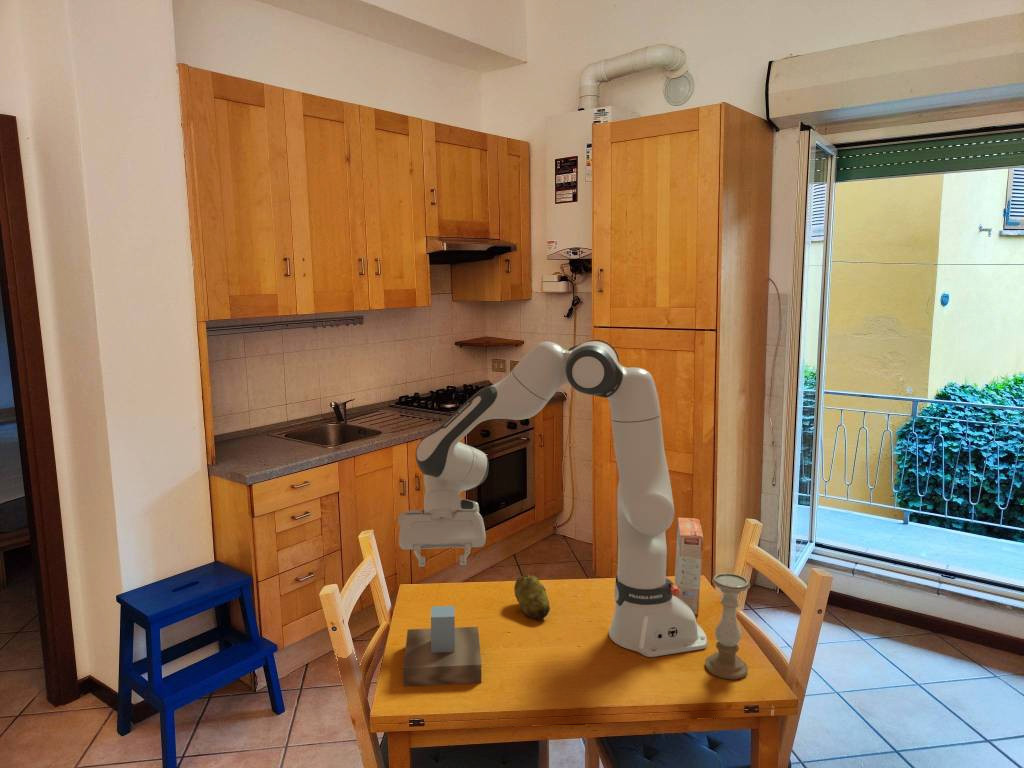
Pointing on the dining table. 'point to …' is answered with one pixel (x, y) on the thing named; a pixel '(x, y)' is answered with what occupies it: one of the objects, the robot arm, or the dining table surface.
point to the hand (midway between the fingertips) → (442, 564)
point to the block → (442, 629)
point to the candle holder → (728, 629)
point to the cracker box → (689, 561)
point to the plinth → (442, 659)
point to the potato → (531, 596)
